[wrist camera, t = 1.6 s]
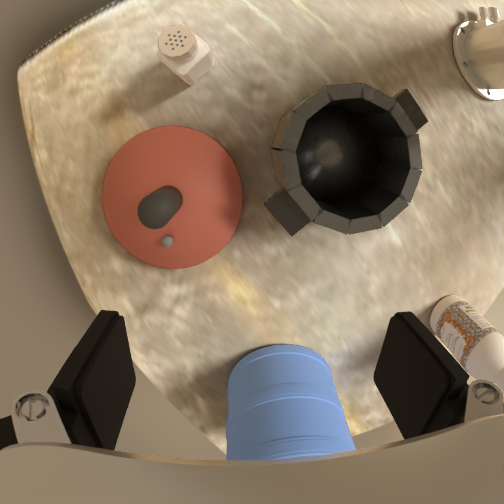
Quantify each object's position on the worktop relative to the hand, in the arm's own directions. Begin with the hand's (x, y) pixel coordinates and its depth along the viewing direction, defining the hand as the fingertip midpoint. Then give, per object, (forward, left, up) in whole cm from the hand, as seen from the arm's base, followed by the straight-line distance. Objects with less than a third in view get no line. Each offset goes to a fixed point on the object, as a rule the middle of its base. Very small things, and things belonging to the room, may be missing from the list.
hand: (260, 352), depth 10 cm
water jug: (+27, +7, -27) cm, 39 cm away
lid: (0, -8, -27) cm, 28 cm away
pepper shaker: (-16, -7, -27) cm, 32 cm away
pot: (-6, +10, -27) cm, 29 cm away
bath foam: (+15, +33, -27) cm, 45 cm away
